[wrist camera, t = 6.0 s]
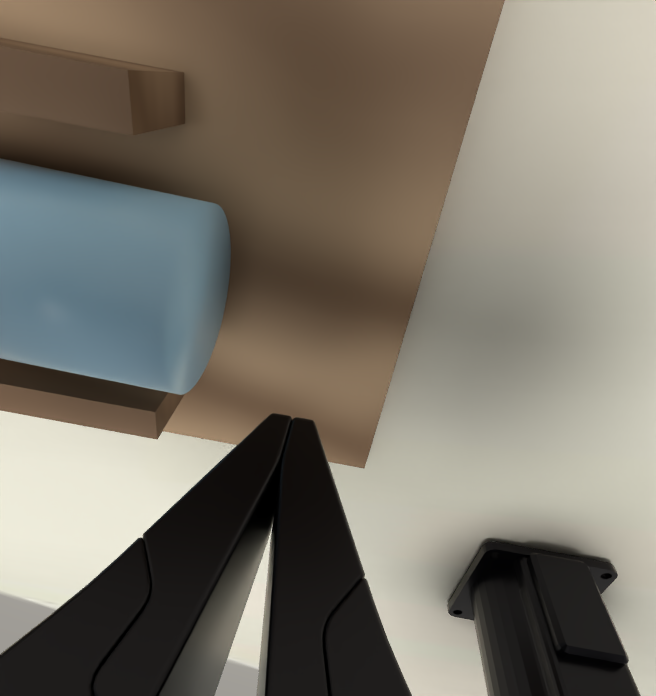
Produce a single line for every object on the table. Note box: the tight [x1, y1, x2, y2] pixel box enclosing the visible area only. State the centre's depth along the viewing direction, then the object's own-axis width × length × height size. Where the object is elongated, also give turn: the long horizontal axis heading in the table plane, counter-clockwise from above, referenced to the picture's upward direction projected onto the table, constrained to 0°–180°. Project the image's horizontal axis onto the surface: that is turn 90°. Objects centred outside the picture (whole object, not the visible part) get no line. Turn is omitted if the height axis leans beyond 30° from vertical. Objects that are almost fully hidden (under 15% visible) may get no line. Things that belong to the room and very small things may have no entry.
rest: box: [0, 0, 505, 468], centre depth 12 cm, size 18×20×4 cm
